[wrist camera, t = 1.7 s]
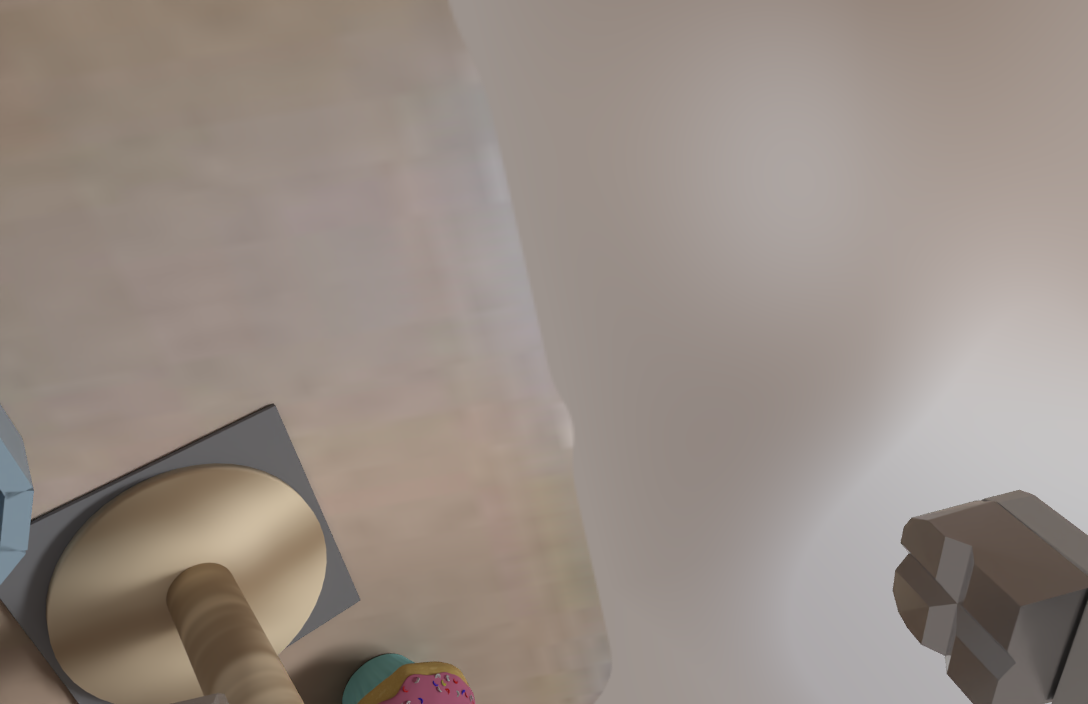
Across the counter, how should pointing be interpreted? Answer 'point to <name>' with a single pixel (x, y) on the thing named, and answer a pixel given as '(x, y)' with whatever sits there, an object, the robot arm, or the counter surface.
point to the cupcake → (407, 683)
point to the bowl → (13, 497)
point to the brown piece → (188, 589)
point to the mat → (239, 443)
